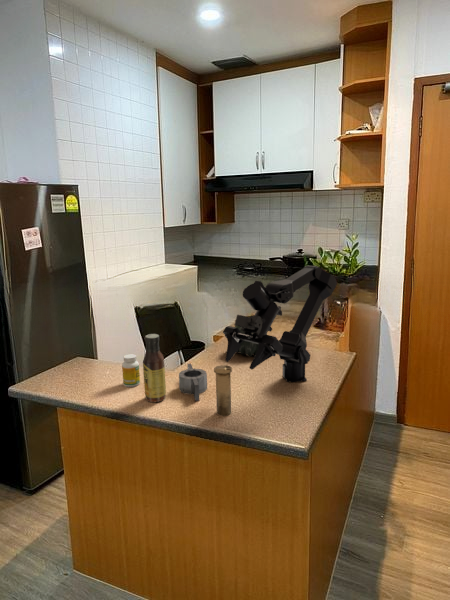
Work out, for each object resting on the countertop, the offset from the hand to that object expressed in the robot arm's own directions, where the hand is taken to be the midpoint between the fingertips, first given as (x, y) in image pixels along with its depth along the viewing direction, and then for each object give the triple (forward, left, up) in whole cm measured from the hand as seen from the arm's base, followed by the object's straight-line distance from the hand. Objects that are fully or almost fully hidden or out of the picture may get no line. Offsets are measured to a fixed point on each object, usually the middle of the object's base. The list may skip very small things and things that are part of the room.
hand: (238, 364), depth 124 cm
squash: (-11, -45, -12) cm, 48 cm away
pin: (+5, +4, -12) cm, 14 cm away
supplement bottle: (+32, -22, -12) cm, 40 cm away
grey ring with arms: (+12, -14, -12) cm, 23 cm away
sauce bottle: (+24, -9, -12) cm, 28 cm away
